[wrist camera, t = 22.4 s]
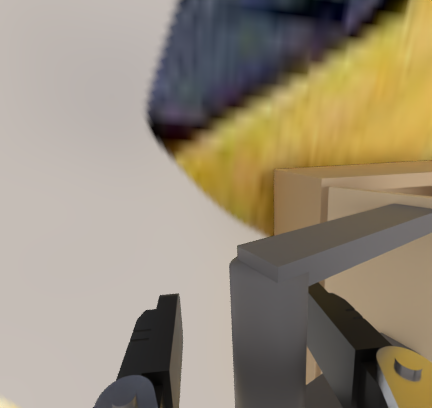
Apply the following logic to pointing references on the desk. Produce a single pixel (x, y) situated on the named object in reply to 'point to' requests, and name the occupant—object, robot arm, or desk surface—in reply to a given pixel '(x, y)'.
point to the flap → (329, 291)
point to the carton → (319, 191)
